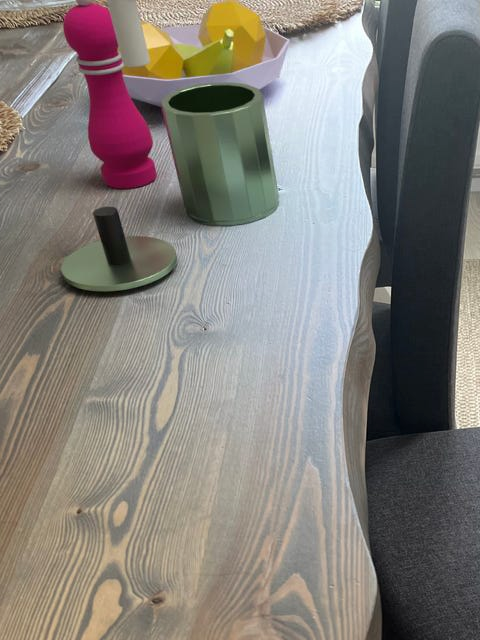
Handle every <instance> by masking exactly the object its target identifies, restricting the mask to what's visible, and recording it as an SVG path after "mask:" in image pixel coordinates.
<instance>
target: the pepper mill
mask: <svg viewBox="0 0 480 640" xmlns="http://www.w3.org/2000/svg"><path fill="white" fill-rule="evenodd" d="M75 1H76V3H77V5H74V6H73V7H71V8H70V9H69V10H68V11H67V12H66V14H65V15H64V18H63V24H62V29H63V33H64V39H65V41H66V43H67V44H68V46H69V48H71V50H73V51H74V52H75V53H76V54H77V56H76V58H75V61H76V62H77V64H78V71H79V72H80V73H81V74H83V76H84V78H85V82H86V84H87V89H88V95H89V115H88V116H89V117H88V124H87V136H88V137H87V138H88V142H89V147H90V150H91V152H92V154H93V155H94V156H95V157H96V158H97V159H98V160H100V161H101V162H102V164H101V166H100V171H101V175H102V179H103V182H104V183H105V185H106V186H108V187H110V188H113V189H122V190H124V189H125V190H126V189H135V188H140V187H143V186H147V185H148V184H150V183H153V182H154V181H155V180H156V179H157V177H158V176H157V175H158V174H157V169H156V166H155V162H154V160H153V159H152V158H151V157H149V155H150V153H151V152H152V149H153V146H154V139H153V136H152V133H151V130H150V127H149V125H148V123H147V122H146V120H145V118H144V117H143V115H142V114H141V112H140V111H139V109H138V108H137V106H136V105H135V103H134V101H133V99H132V98H131V97H130V95H129V93H128V91H127V88H126V85H125V82H124V78H123V73H122V68H123V67H124V65H123V61H122V58H121V54H120V52H119V51H117V49H118V42H117V38H116V34H115V30H114V26H113V23H112V19H111V15H110V11H109V8H107V7H105V6H103V5H102V4H97V3H94V2H93V0H75Z"/></svg>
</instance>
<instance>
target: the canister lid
mask: <svg viewBox="0 0 480 640" xmlns="http://www.w3.org/2000/svg"><path fill="white" fill-rule="evenodd" d="M92 215H93V220H94V222H95V225H96V230H97V232H98V235H99V240H98V241H95V242H92V243H89V244H87V245H83V246H82V247H80V248H78V249H76V250H74V251H73V252H72V253H70V254H68V256H66V257H65V259H64V260H63V262H62V263H61V267H60V272H61V274H62V278H63V279H64V281H65V282H66V283H68V284H69V285H70V286H72V287H74V288H77V289H81V290H84V291H89V292H117V291H118V292H119V291H124V290H125V291H126V290H131V289H134V288H138V287H142V286H145V285H148V284H151V283H153V282H155V281H158V280H160V279H161V278H163V277H164V276H166V275H168V274H169V273H171V272H172V270H174V268H175V267H176V265H177V263H178V254H177V251H176V248H175V247H174V246H173V245H172V244H171V243H169V242H168V241H167V240H166V241H165V240H163V239H161V238H156V237H152V236H142V235H130V236H129V235H128V236H125V231H124V229H123V225H122V221H121V217H120V214H119V210H118V208H117V207H115V206H102V207H101V206H100V207H99V208H96V209H94V210H93V212H92Z"/></svg>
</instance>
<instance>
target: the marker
mask: <svg viewBox="0 0 480 640" xmlns="http://www.w3.org/2000/svg"><path fill="white" fill-rule="evenodd" d="M106 3H107V7H108V10H109V11H110V15H111V19H112V23H113V26H114V30H115V34H116V38H117V42H118V46H119V50H120V54H121V58H122V61H123V65H124V66H127V67H139V66H144V65H146V64H148V63H150V58H149V54H148V50H147V46H146V41H145V37H144V33H143V29H142V25H141V21H142V20H141V17H140V11H139V8H138V4H137V0H106Z"/></svg>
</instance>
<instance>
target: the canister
mask: <svg viewBox="0 0 480 640" xmlns="http://www.w3.org/2000/svg"><path fill="white" fill-rule="evenodd" d="M160 108H161V111H162V115H163V121H164V124H165V129H166V133H167V137H168V143H169V146H170V150H171V155H172V159H173V163H174V168H175V172H176V177H177V180H178V181H177V182H178V185H179V189H180V194H181V198H182V203H183V207H184V209H185V213H186V215H187V217H189V219H191V220H192V221H194V222H195V223H199V224H203V225H208V226H221V227H223V226H224V227H225V226H238V225H243V224H248V223H253V222H256V221H258V220H262V219H264V218H265V217H266V218H267V216H270V215H271V214H273V213H274V212H275V211H277V209H278V207H279V204H280V200H279V199H280V193H279V188H278V181H277V176H276V170H275V163H274V157H273V151H272V144H271V139H270V138H271V137H270V132H269V131H270V130H269V126H268V120H267V119H268V118H267V113H266V107H265V101H264V94H263V93H262V91H261V89H260V90H259V89H258V88H255V87H252V86H250V85H247V84H240V83H231V82H230V83H229V82H224V83H207V84H200V85H193V86H189V87H186V88H182V89H179V90H176V91H174V92H172V93H170V94H169V95H167V96H165V97H164V98H163V100H162V102H161V107H160Z"/></svg>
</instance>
